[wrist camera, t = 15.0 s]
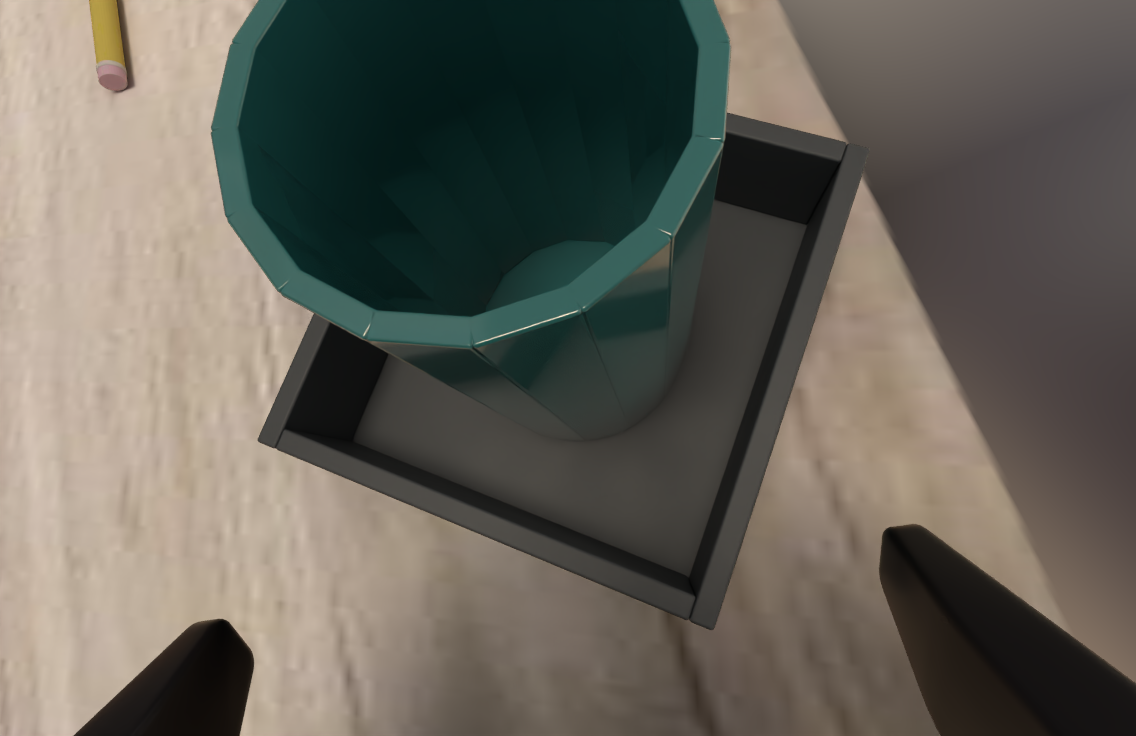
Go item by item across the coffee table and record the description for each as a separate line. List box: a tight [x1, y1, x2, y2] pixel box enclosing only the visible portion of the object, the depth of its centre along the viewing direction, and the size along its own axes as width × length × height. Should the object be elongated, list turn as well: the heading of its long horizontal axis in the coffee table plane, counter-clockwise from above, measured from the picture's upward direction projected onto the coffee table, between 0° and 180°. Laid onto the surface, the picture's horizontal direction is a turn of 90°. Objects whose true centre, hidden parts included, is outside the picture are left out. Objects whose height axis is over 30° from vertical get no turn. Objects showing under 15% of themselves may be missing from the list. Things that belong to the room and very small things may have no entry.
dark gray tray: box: [258, 113, 870, 630], centre depth 19 cm, size 13×13×5 cm
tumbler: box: [211, 0, 731, 442], centre depth 14 cm, size 7×7×13 cm
